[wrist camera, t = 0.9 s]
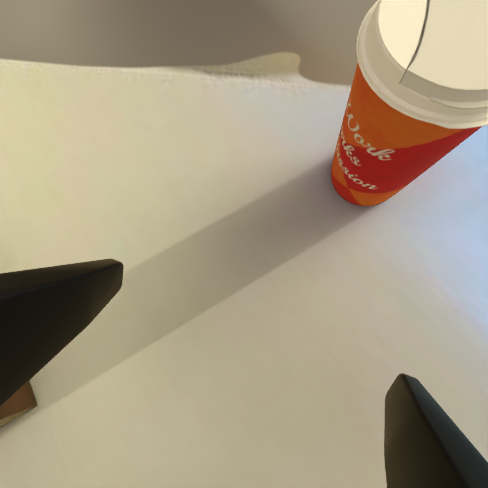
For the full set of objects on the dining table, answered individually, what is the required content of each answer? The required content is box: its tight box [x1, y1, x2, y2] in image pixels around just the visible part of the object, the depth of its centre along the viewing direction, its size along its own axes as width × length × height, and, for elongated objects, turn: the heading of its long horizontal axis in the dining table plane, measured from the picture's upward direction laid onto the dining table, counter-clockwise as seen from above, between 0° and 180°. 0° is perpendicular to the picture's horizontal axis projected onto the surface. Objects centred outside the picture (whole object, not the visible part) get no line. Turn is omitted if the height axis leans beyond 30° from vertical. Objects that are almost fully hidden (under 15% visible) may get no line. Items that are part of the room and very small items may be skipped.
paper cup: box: [331, 0, 488, 206], centre depth 18 cm, size 8×8×14 cm
